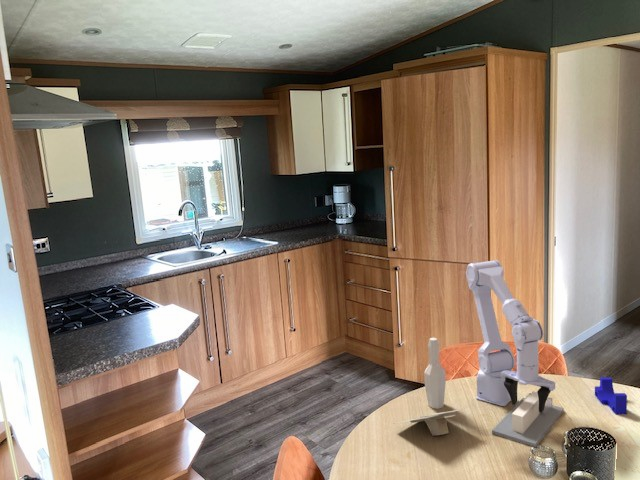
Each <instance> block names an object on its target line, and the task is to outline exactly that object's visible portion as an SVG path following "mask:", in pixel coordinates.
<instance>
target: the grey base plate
mask: <svg viewBox="0 0 640 480" xmlns="http://www.w3.org/2000/svg"><path fill="white" fill-rule="evenodd" d="M531 393H532V392H529V393H528V394H527V395H526V396H525V397H522V398H521V399H520V400H519V401H518V402H517V403H516V404H515V405H514V407H513V408H512V409H511V410H510V411H509V412H508V413H507V414H506V415H505V416H504V417H503V418H502V419H501V420H500V422H498V423H497V425H496V426H494V427H493V429H492V430H491V434H493V435H494V436H498V437H501V438H504V439H507V440H511V441H514V442H518V443H521V444H522V445H527V446H530V447H533V448H536V447H537V446H538V445H539V444H540V442H541V441H542V440H543V438H544V437H545V436H546V434H547V433H548V432H549V431H550V429H551V428H552V427H553V426H554V424H555V423H556V421H558V419H559V418H560V417H561V415H562V414H563V413H564V411H565V409H564V407H561V406H557V405H553V397H549V396H548V397H547V400H546V403H545V407H544V410H543V411H542V412H541V413H540V414H539V415H538V416H537V418H536V419H535V420H534V421H533V422H532V423H531V425H530V426H529V427H528V428H527V429H526V431H525V432H524V433H523V434H522V433H519V432H516V431H513V430H512V413H513V412H514V411H515V410H516V409H517V408H518V407H519V406H520V405H521V404H522V402H523V401H524V400H525V399H526V398H527V397H528V396H529V395H530V394H531Z"/></svg>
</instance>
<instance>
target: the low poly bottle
mask: <svg viewBox="0 0 640 480" xmlns="http://www.w3.org/2000/svg"><path fill="white" fill-rule="evenodd" d="M427 349H428V359H429V362H428V363H429V364H428V365H427V367H426V369H425V370H424V372H423V375H424V376H423V377H424V387H425V393H426V399H427V404H428V405H427V406H428V407H430V408H432V409H438V410H439V409H441V408H443V407H444V403H445V393H446V380H447V379H446V370H445V368H444V367H443V366H442V365H441V364H440V355H439V354H440V342H439V340H438V338H436V337H430V338H429V340H428V344H427Z"/></svg>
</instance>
